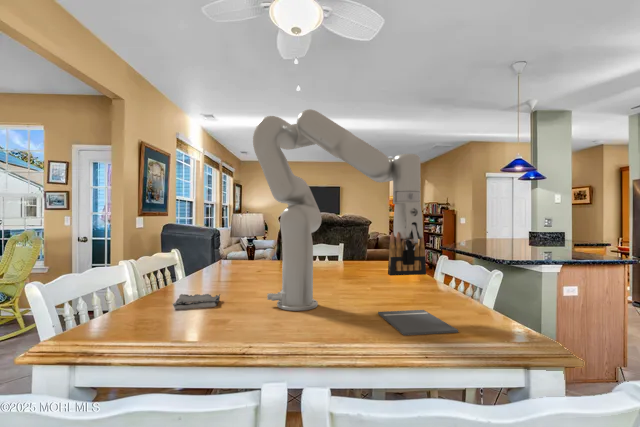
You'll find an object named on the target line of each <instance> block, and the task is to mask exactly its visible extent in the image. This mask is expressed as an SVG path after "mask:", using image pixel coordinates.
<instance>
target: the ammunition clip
mask: <svg viewBox="0 0 640 427" xmlns="http://www.w3.org/2000/svg"><path fill="white" fill-rule="evenodd" d="M395 238H396V239H395ZM424 238H425V237H424V236H423V237H422V238H421V239H419V240H418V243H417V244H416V245H415V250H414V265H403V250H404V239H402V247H401V242H400V234H399V232H398V233H397V236H396V237H395V236H394V231H392V232H391V233H390V237H389V246H388V250H389V251H388V252H389V253H388V262H387V263H388V267H387V275H388V276H419V275H421V276H422V275H423V276H424V275H427V260H426V259H427V258H426V256H425V253H426V252H425V251H426V250H425V249H426V248H425V239H424ZM408 239H412V238H411V237H409V238H408ZM408 242H409V241H408Z"/></svg>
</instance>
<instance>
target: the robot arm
mask: <svg viewBox="0 0 640 427" xmlns="http://www.w3.org/2000/svg"><path fill="white" fill-rule="evenodd" d="M252 134H253V135H252V146H253V150H254V153H255V156H256V159H257V160H258V163H259V165H260V167H261V170H262V173H263V175H264V178H265V180H266V182H267V185H268V187H269V190H270V192H271V195H272V196H273V198H274V199H275V201H277V202H278V203H281V204H287V207H285V209H284V210H283V211H282V213H281V215H280V220H279V222H280V223H279V224H280V225H279V226H280V233H281V245H282V248H281V249H282V252H281V253H282V269H281V270H282V271H281V272H282V273H281V274H282V276H281V277H282V278H281V279H282V280H281V283H282V284H281V289H280V291H278V292H277V293H272V292H271V293H267V295H266V296H267V300H269V301H277V304H276V306H277V308H279V309H281V310H284V311H293V312H301V311H303V312H304V311H309V310H314V309H316V308H318V304H319V303H318V301H317V300H316V299H315V298H314V295H313V294H314V245H313V244H314V243H313V237H312V233H315V232H316V231H317V230H319V228H320V226H322V225H321V224H322V214H321V210H320V209H319V206H318V204H317V202H316V199H315V197H314V194H313V192H312V190H311V188H310V186H309V185H308V183H307V182H306V180H304V179H303V178H302V177H300V176H297V175H295V174H294V173H293V171H292V169H291V167H290V164H289V161H288V159H287V156H285V154H284V152H283V151H282V150H295V149H300V148H305V147H311V146H314V145H317V146H319V147H320V149H323V150H324V151H326V152H327V153H329V154H331V155H332V156H333V157H335V158H337V159H340V160H342V161H344V162H345V163H347V164H348V165H349V166H351V167H353V168H354V169H356V170H357V171H358V172H360V173H362V175H365V176H366V177H367V178H369V179H371V180H372V181H374V182H376V183H386V182H391V181H392V205H394V208H393V209H394V212H393V234H394V238H396V236H397V233H398V232H399V234H400V242H401V247H402V239H404V250H403V265H414V250H415V245H416V244H417V243H418V244H419V240H420V239H421V238H422V237H424V226H423V222H424V221H423V212H422V205H421V157H420V155H419V154H415V153H402V154H401V153H400V154H397V155H395V156H394V157H392V158H391V157H388V156H387V155H386V154H385V153H383V152H382V151H381V150H379V149H377V148H375V147H374V146H373V145H372V144H369V143H368V142H366V141H364V140H363V139H361V138H359V136H356V135H355V134H354V133H352V132H351V131H349V130H347V129H346V128H345V127H343V126H341V125H340V124H338V123H336V122H335V121H333V120H332V119H330V118H328V117H327V116H325V115H323V114H322V113H321V112H319V111H317V110H314V109H312V108H311V109H310V108H309V109H305V110H303V111H302V112H300V113H299V114H298V116H297V120H296V123H293V124H290V122H288V121H286V120H284V119H283V118H281V117H278V116H276V115H275V116H274V115H268V116H267V115H266V116H264V117H262V118H261V120H260V121H259V122H258V123H257V124H256V126H255V128H254V131H253V133H252ZM409 237H411V238H412V239H408V238H409ZM408 241H409V242H408Z"/></svg>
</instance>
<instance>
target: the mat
mask: <svg viewBox="0 0 640 427" xmlns="http://www.w3.org/2000/svg"><path fill="white" fill-rule="evenodd" d="M377 314H378V315H379V316H380V317H381V318H382V319H384V321H386V322H387V323H388V324H390V325H391V326H392V327H393V328H395V330H397V331H398V332H399V333H400V334H402V335H403V336H417V335H419V336H420V335H436V334H454V333H455V334H456V333H457V334H458V333H459V330H458V329H457V328H456V327H454V326H452V325H450V324H448V323H447V322H446V321H443V320H442V319H440V318H439V317H437V316H435V315H433V314H431V313H430V312H428V311H426V310H425V309H410V310H390V311H389V310H388V311H387V310H386V311H385V310H384V311H378V313H377Z"/></svg>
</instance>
